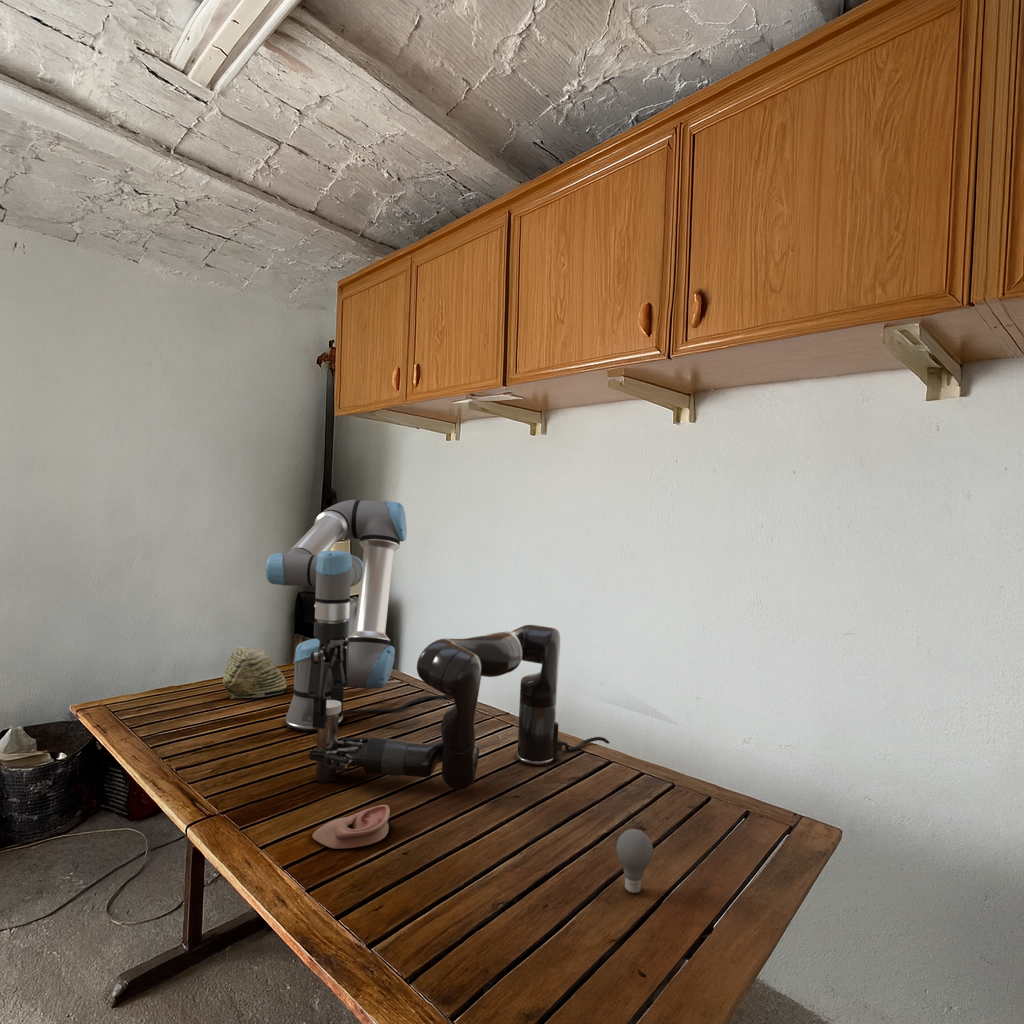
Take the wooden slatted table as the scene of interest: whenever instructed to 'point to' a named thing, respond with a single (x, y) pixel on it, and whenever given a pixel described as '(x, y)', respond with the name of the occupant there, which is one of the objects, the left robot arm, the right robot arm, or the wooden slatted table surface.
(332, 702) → the lid
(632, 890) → the light bulb
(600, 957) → the wooden slatted table surface
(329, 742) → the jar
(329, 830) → the anatomical model
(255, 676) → the fossil
